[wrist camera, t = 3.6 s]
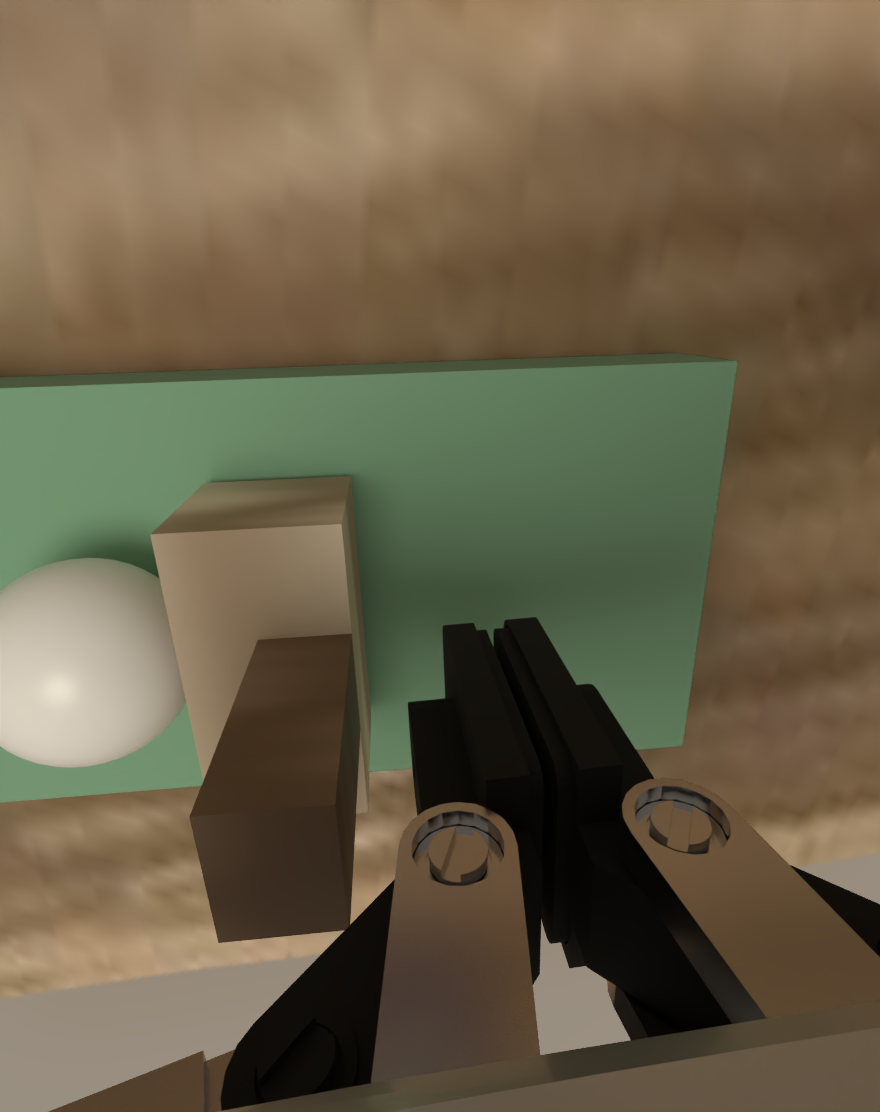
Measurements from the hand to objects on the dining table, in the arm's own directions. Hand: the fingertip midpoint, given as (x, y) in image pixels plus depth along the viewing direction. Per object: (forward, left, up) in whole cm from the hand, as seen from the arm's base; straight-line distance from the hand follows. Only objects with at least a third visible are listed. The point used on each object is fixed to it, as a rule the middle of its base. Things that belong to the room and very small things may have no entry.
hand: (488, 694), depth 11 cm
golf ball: (+8, 0, -2) cm, 8 cm away
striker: (+4, 0, -3) cm, 5 cm away
